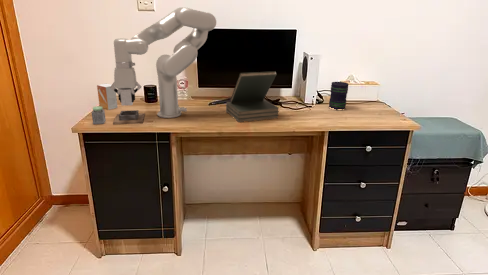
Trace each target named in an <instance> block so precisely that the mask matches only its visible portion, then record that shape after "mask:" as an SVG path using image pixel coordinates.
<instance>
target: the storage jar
mask: <svg viewBox="0 0 488 275" xmlns="http://www.w3.org/2000/svg"><path fill="white" fill-rule="evenodd" d="M348 91H349V83H348V82H345V81H344V82H343V81H332V82H331V85H330V96H329V97H330V98H329V101H328V108H329V107H331V108H334V109H344V108H345V109H346V107H347V106H346V105H347V96H348V93H349V92H348Z"/></svg>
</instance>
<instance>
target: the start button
mask: <svg viewBox="0 0 488 275" xmlns="http://www.w3.org/2000/svg"><path fill="white" fill-rule="evenodd" d="M102 109H104V108H102V107H101V106H97V105H96V106H93V107H92V111H93V110H94V111H95V112H101V110H102Z"/></svg>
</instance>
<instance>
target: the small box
mask: <svg viewBox="0 0 488 275" xmlns="http://www.w3.org/2000/svg"><path fill="white" fill-rule="evenodd" d="M112 84H113V83H101V84H97V85H96V88H97V96H98V105H99V106H101V107H102V108H103V109H104V110H107V111H108V110H109V111H111V110H113V109H118V98H117V93H116V92H115V91H114V90H112V89H111V88H110V87H111V85H112ZM114 87H115V86H114Z"/></svg>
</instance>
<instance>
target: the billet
mask: <svg viewBox="0 0 488 275" xmlns="http://www.w3.org/2000/svg"><path fill="white" fill-rule="evenodd" d="M120 94H121V102H120V103H121V104H120V105H121V106H125V107H126V106H133V104H134V102H132V91H131V89H120Z"/></svg>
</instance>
